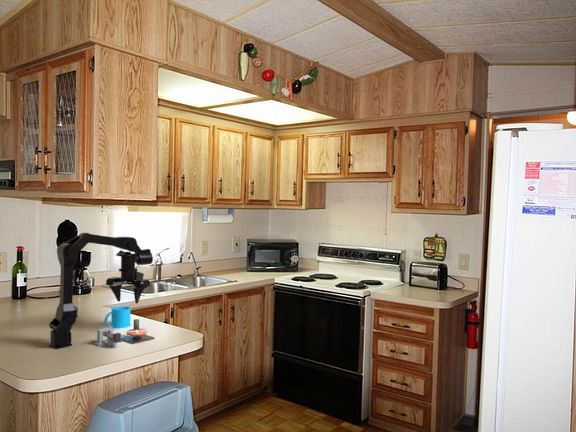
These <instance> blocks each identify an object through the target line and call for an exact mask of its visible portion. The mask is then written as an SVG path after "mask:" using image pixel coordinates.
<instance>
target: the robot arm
mask: <svg viewBox="0 0 576 432" xmlns="http://www.w3.org/2000/svg"><path fill="white" fill-rule="evenodd" d="M88 244H97V245H103V246H111V247H114V248H118V249H120V250H119V251H117V253H116V254H115V256H116V257H120V268H118V272H120V276H113V277H107V279H106V280H105V286H108V288H110V289H111V291H112V293H113V294H114V297H115V299H116V301H117V302H118V303H119V302H120V301H121V296H122V295H121V294H122V291H121V290H122V289H121V288H122V287H123V285H127V286H128V285H130V286H134V288H133V295H134V302H135V304H139V301H140V299H141V296H142V293H143V292H144V290H145V289H147V288H148V287H150V286H151V281H150V280H149V279H145V278H144V275H145V273H142V272H140V271H138V267H136V265H137V266H144V265H152V263H153V261H154V260H153V259H154V257H153V253H152V252H151V249H149V248H145V249H141V247H140V245H138V241H137V240H136V238H135V237H131V236H116V237H115V236H106V235H98V234H93V233H92V234H91V233H89V232H81V233H80V234H78V235H76V236H75V237H73V238H71V239H70V240H68V241H67V242H63V243H61V244H59V245H58V246H57V248H56V254H57V260H58V263H59V265H60V279H59V280H60V281H59V303H58V305H57V308H56V311H55V315H54V318H53V319H52V320H51V321H50V322H49V323H48V327H49V328H50V343H49V344H48V347H51V348H53V349H56V350H58V349H62V348H65V347H70V346H73V343H72V332H71V330H72V327H73V325H75V323H76V322H77V319H78V318H79V315H78V311H79V308H78V307H77V306H75V305H74V302H73V291H74V288H73V286H74V266H75V264H76V261H77V259H78V253H79V252H80V251H82V250H83V249H84V248H85V247H86V246H87V245H88Z"/></svg>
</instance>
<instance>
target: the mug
mask: <svg viewBox="0 0 576 432" xmlns="http://www.w3.org/2000/svg"><path fill="white" fill-rule="evenodd" d="M109 317H111V319H110V321H111V324H109V322H108V318H109ZM104 324H105V325H106V326H107V327H112V328H113V329H127V328H130V327H131V307H130V306H125V305H123V306H121V305H120V306H114V307H112V308H111V311H110V312H108V313H107V314H106V315H105V317H104Z"/></svg>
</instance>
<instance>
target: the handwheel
mask: <svg viewBox="0 0 576 432" xmlns="http://www.w3.org/2000/svg"><path fill="white" fill-rule="evenodd" d="M147 333H148V330H147V329H145V328H140V319H139V318H137V319H135V318H134V319H133V329H132V328H131V329H129V330H127V331H126V336H140V335H144V334H145V335H147Z"/></svg>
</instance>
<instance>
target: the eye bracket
mask: <svg viewBox="0 0 576 432" xmlns="http://www.w3.org/2000/svg"><path fill="white" fill-rule="evenodd" d="M105 331H106V332H109V333H112V334H114V328H112V327H109V326H107V327H103V328H98V329H97V330H96V341H94V342H93V344H94V345H95V346H98V347H102V346H106V345H107V347H108V346H109V348H111V347H115V346H117V343H114V342H113V339H111V338H108V337H106V339H104V336H103V332H105Z"/></svg>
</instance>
